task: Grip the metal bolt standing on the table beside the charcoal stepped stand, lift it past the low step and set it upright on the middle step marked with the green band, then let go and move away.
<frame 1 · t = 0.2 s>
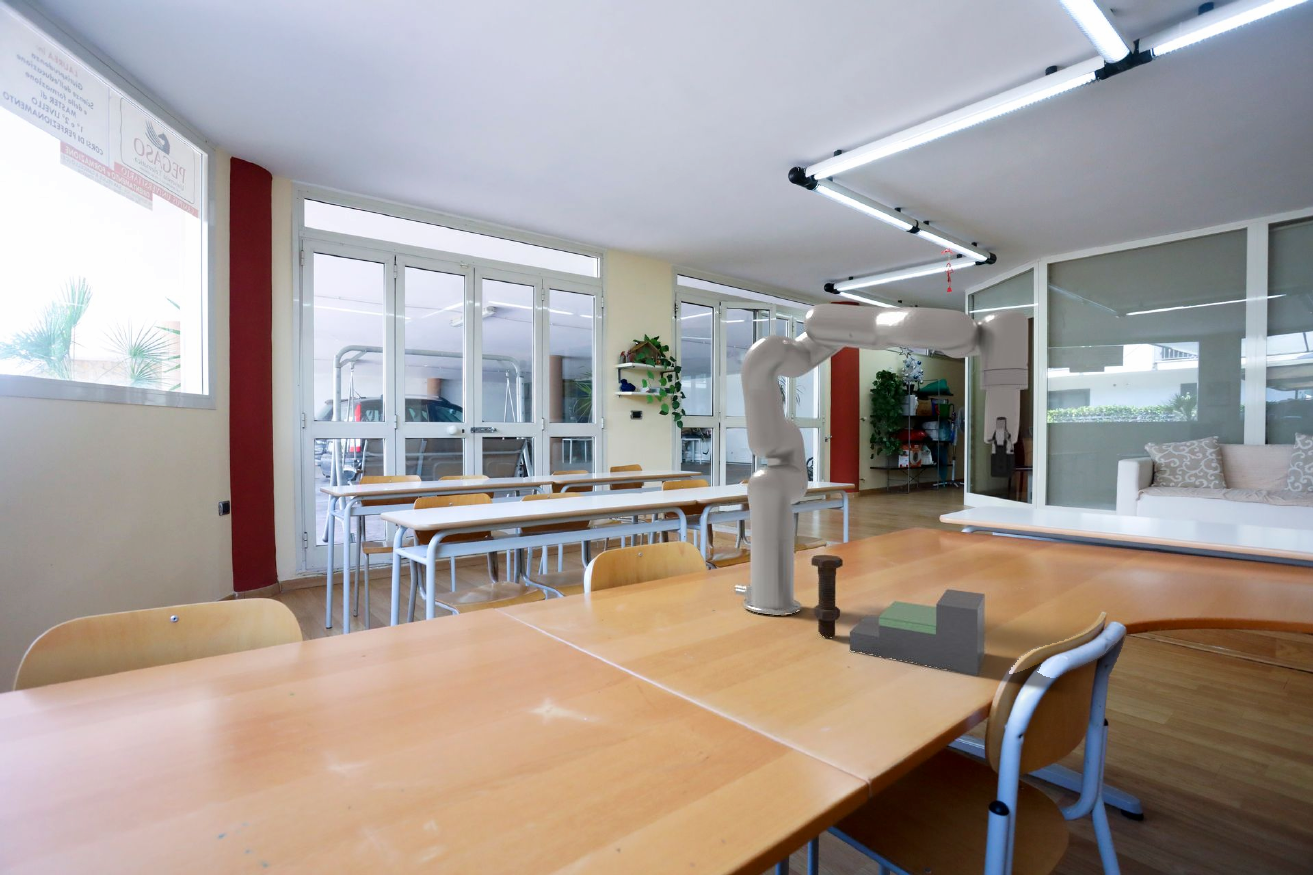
hand: (1003, 476, 110), 31 cm above the table, tool pointing down, fingers open, 9 cm apart
bolt: (826, 637, 115), on the table
stepped stand: (916, 652, 107), on the table
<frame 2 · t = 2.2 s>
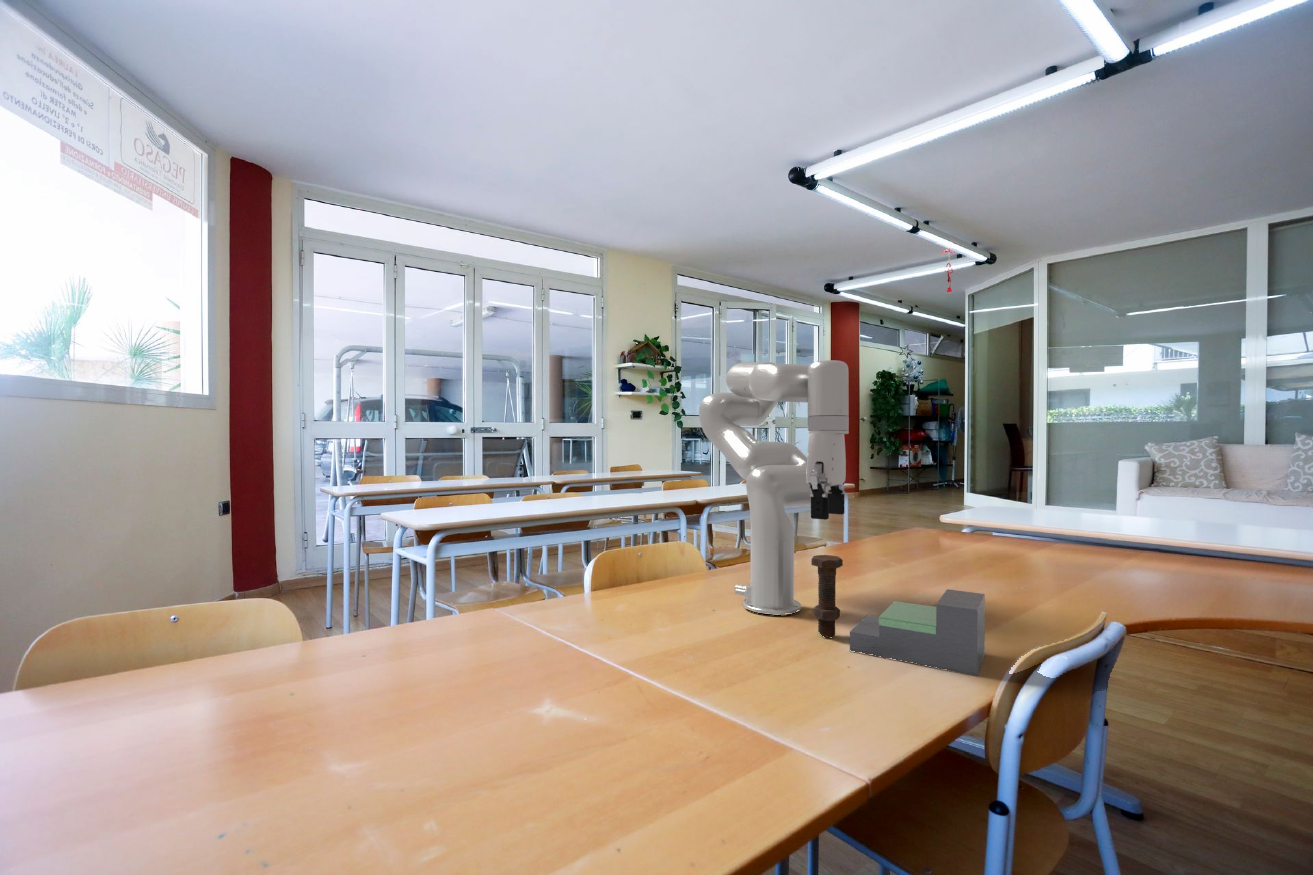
hand: (828, 516, 115), 23 cm above the table, tool pointing down, fingers open, 9 cm apart
nothing on the table moved.
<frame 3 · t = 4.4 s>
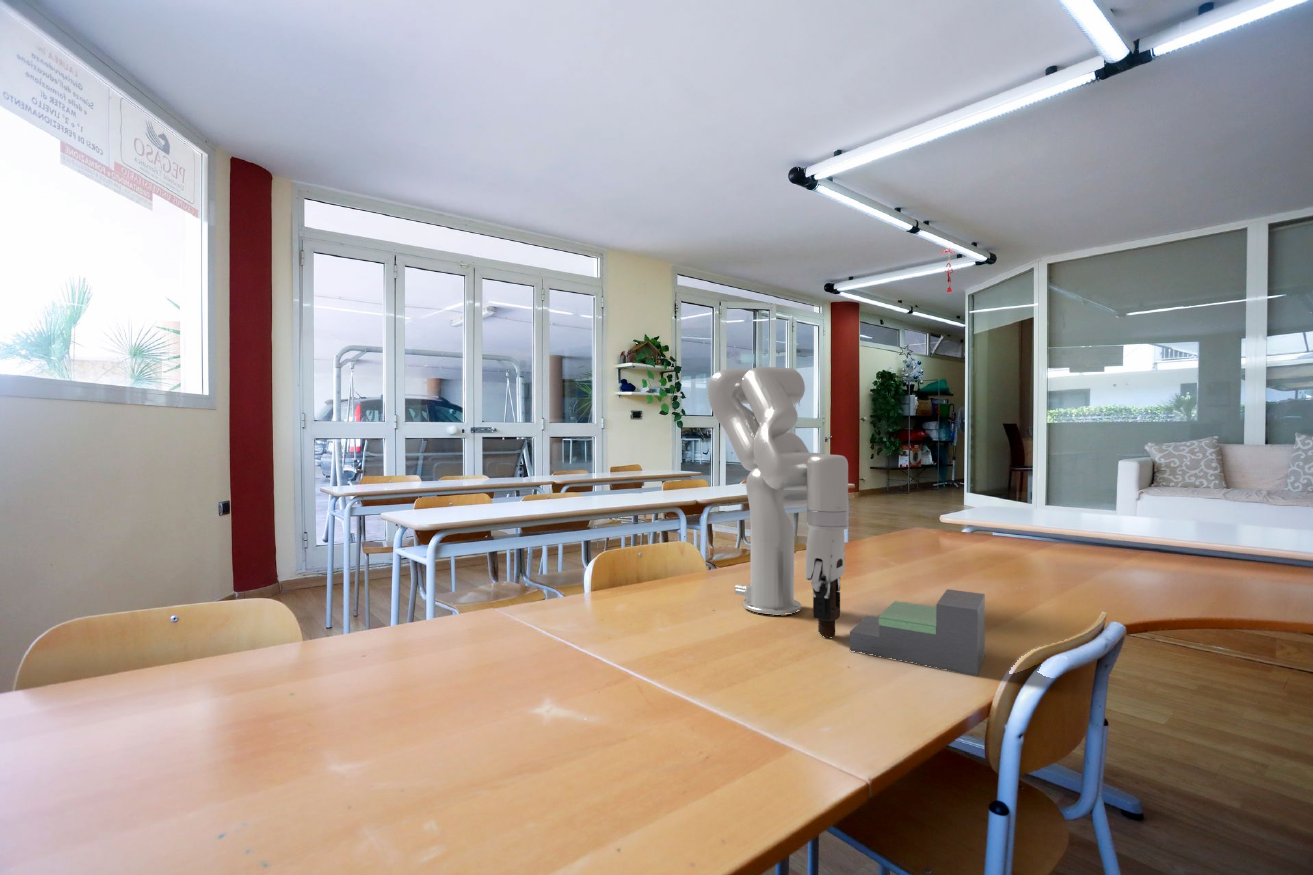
hand: (826, 614, 115), 4 cm above the table, tool pointing down, fingers closed on bolt, 5 cm apart
bolt: (826, 637, 115), on the table, touching gripper
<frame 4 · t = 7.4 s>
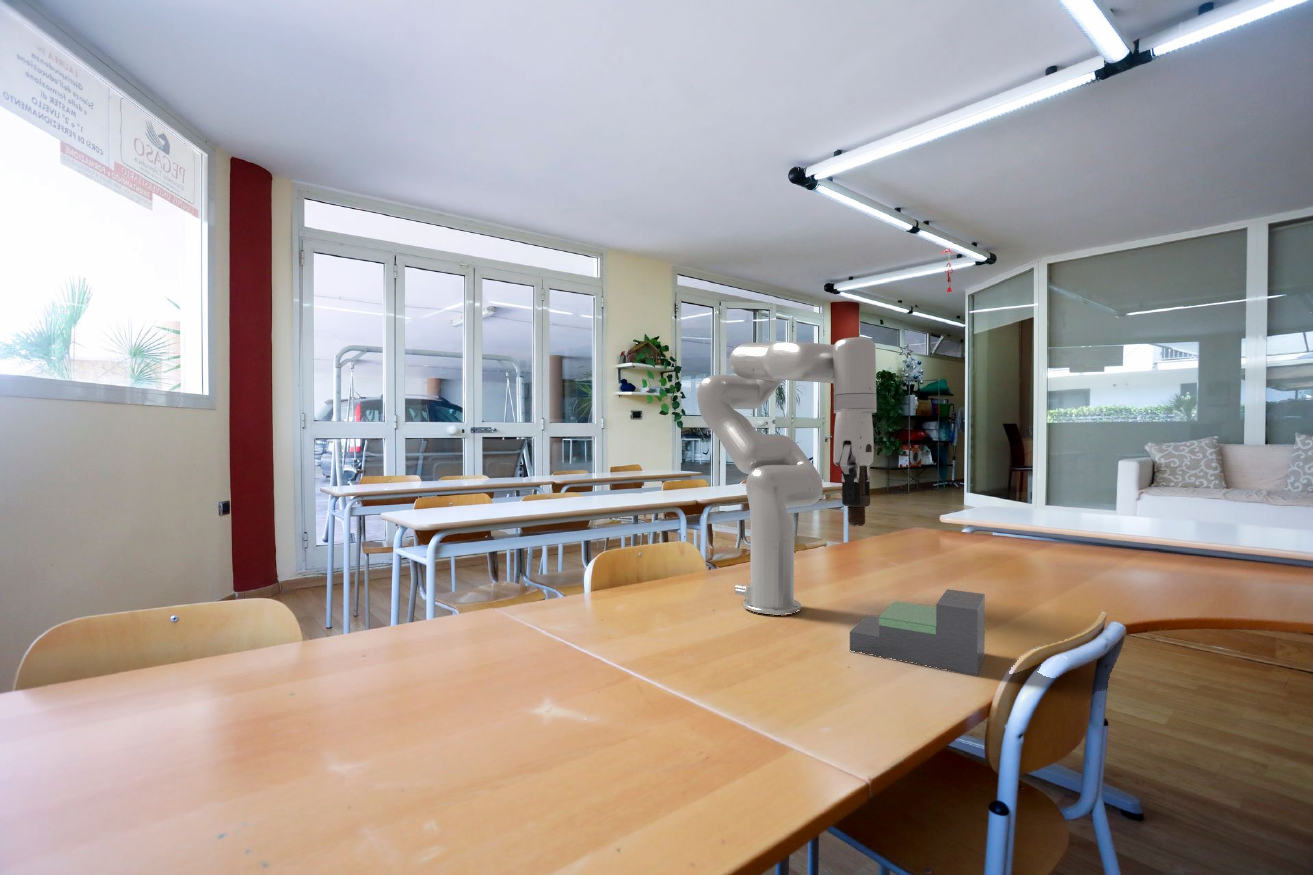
hand: (856, 502, 112), 26 cm above the table, tool pointing down, fingers closed on bolt, 5 cm apart
bolt: (856, 526, 112), point 21 cm above the table, touching gripper
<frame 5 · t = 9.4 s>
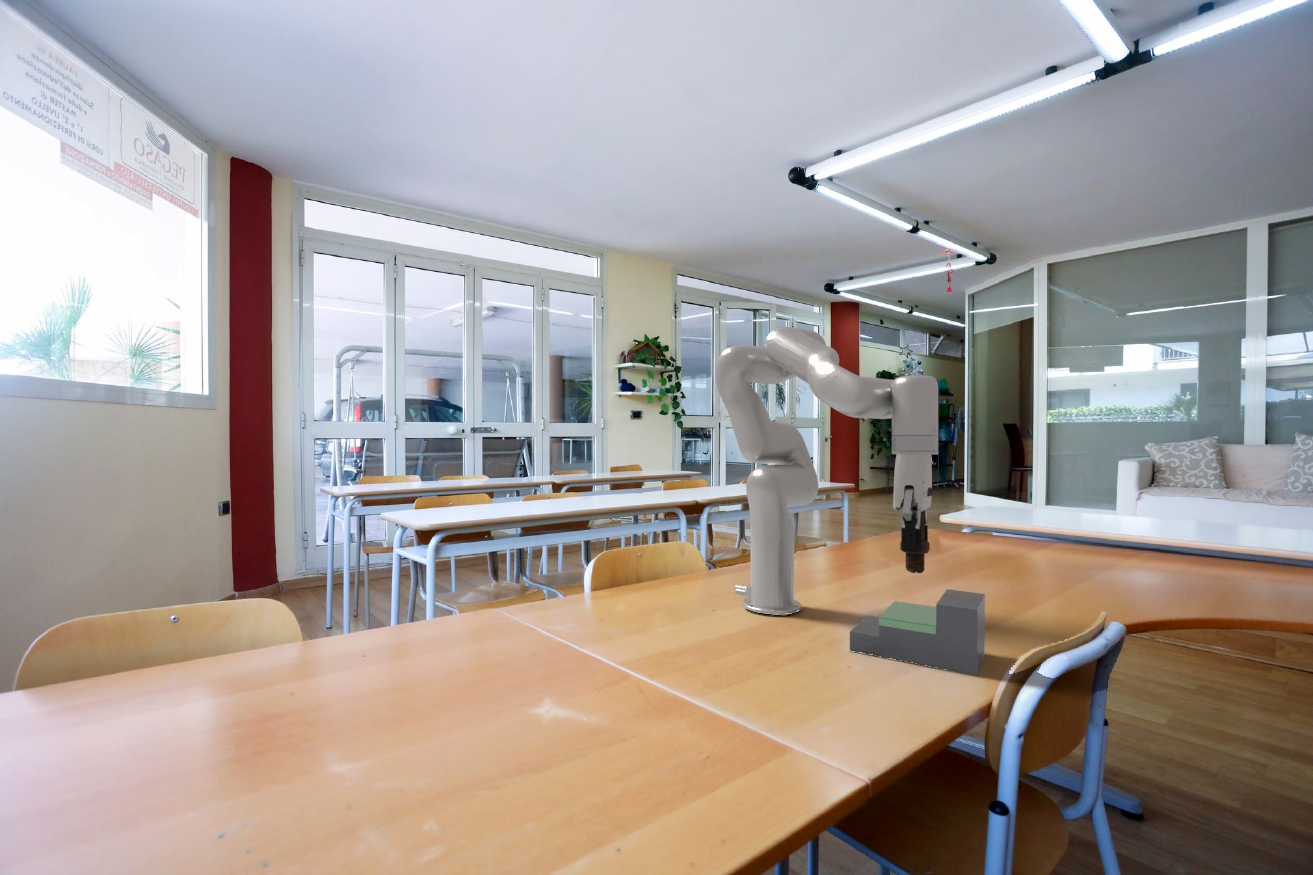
hand: (914, 548, 107), 18 cm above the table, tool pointing down, fingers closed on bolt, 5 cm apart
bolt: (914, 572, 107), point 14 cm above the table, touching gripper
when the fingers open (12 cm above the table, at t = 10.8 s): bolt drops 1 cm, resting on stepped stand.
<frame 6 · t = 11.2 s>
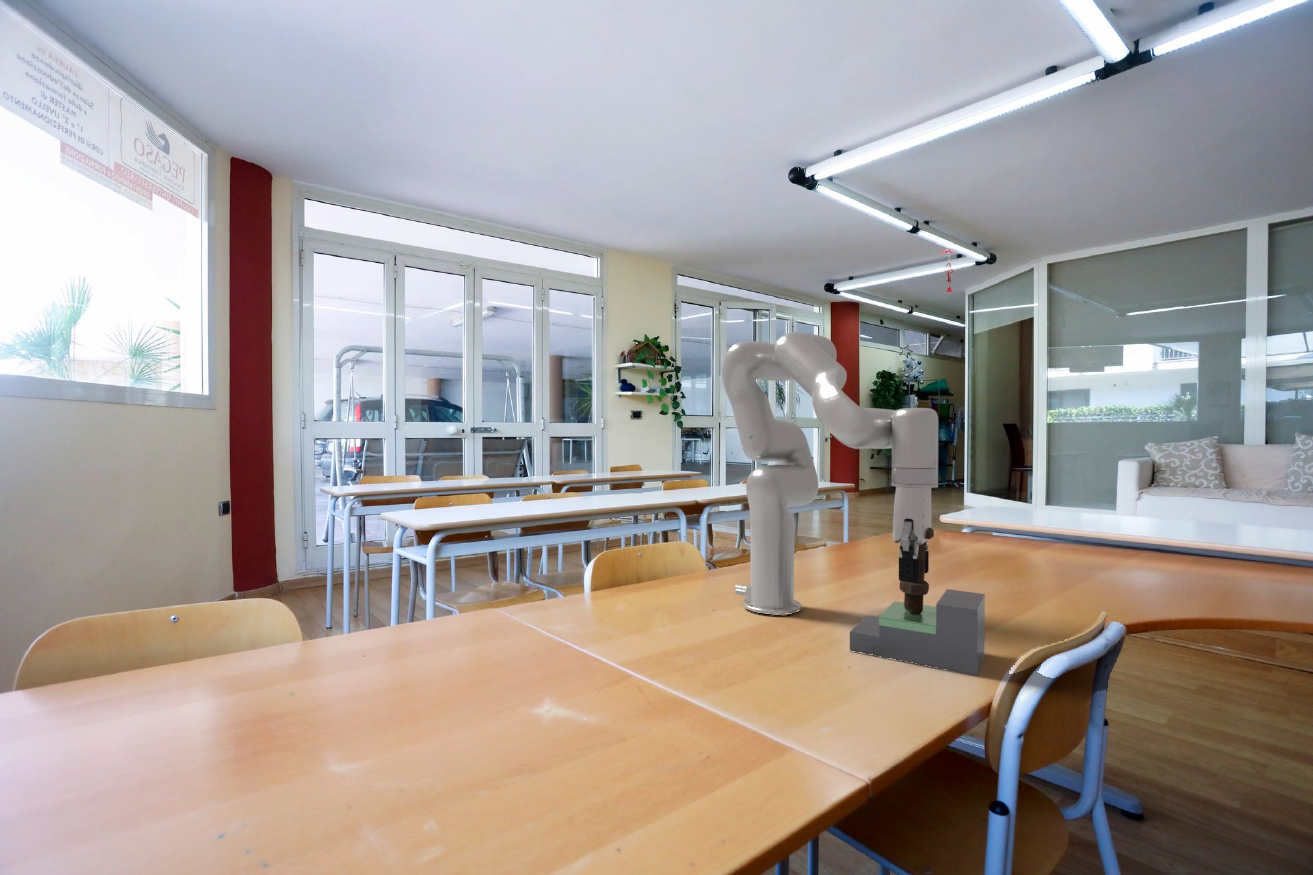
hand: (914, 576, 107), 13 cm above the table, tool pointing down, fingers open, 8 cm apart
bolt: (913, 612, 107), point 7 cm above the table, touching stepped stand
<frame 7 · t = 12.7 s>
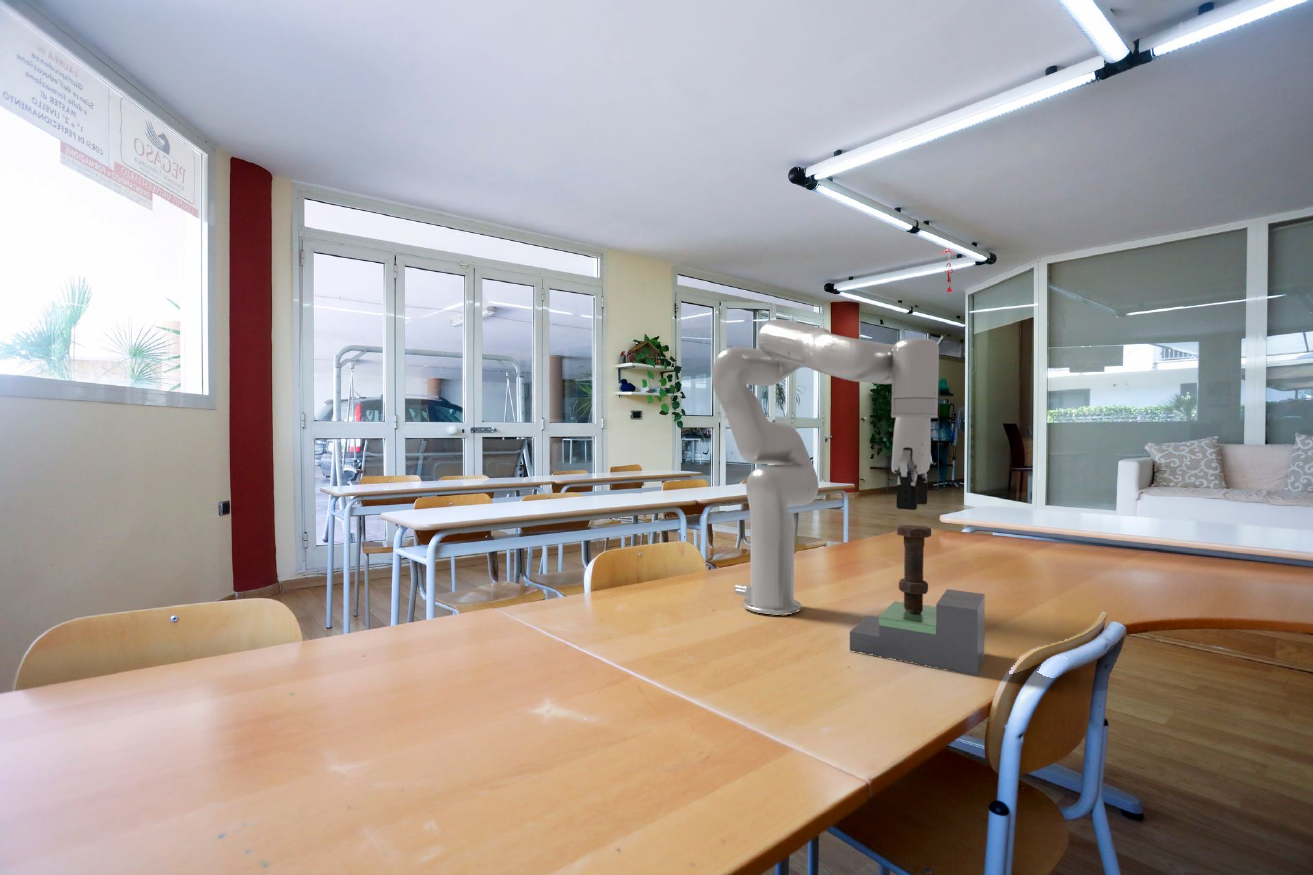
hand: (912, 506, 107), 26 cm above the table, tool pointing down, fingers open, 9 cm apart
nothing on the table moved.
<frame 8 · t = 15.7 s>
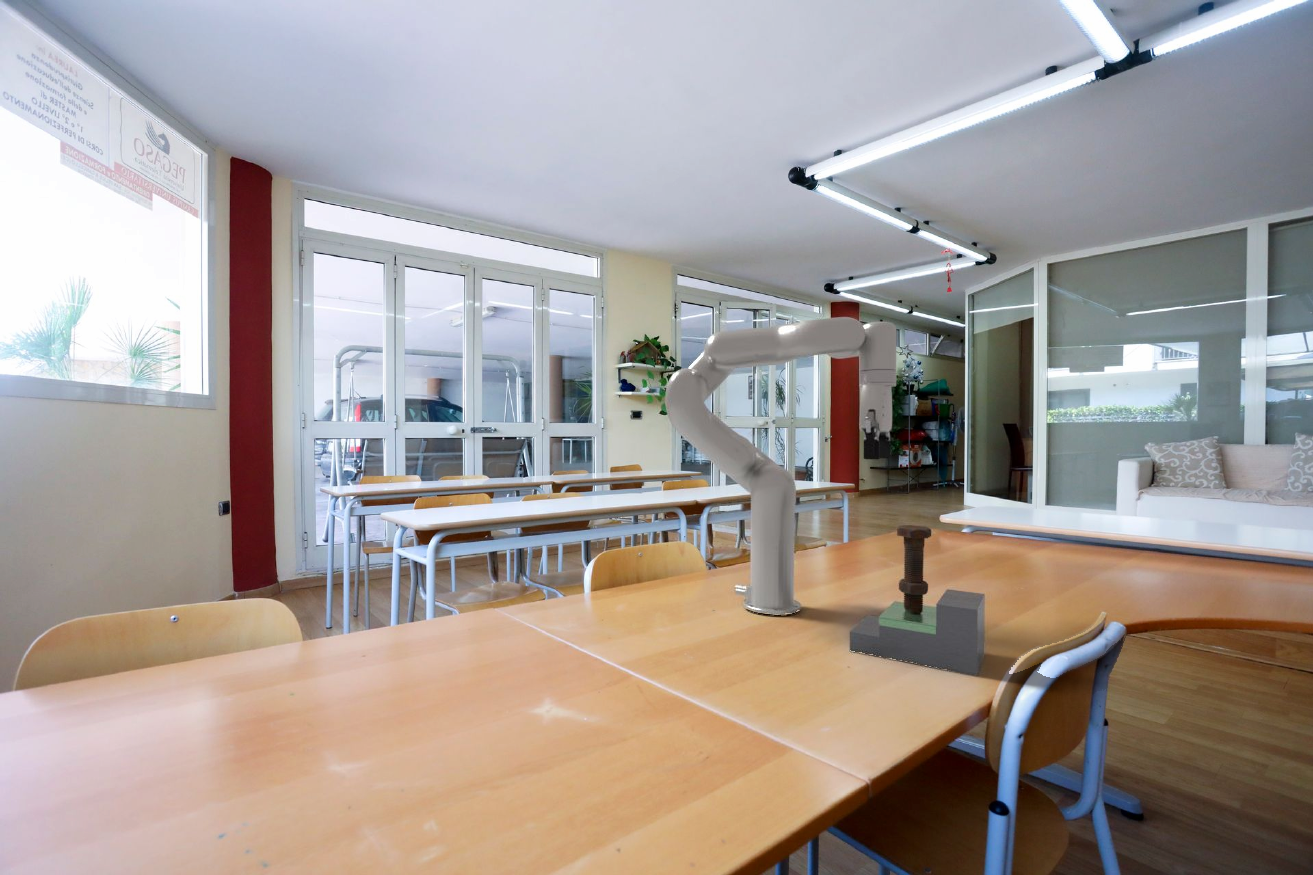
hand: (877, 458, 132), 33 cm above the table, tool pointing down, fingers open, 9 cm apart
nothing on the table moved.
at the end: bolt inside the target area on the stepped stand (0.2 cm from its centre), point 6.8 cm above the stepped stand's base; bolt tilted 0°; the gripper is holding nothing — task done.
